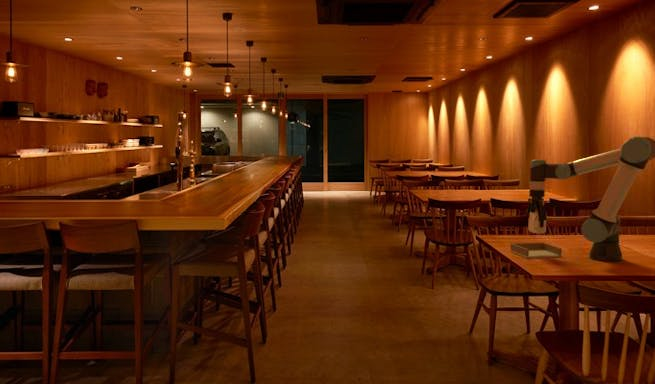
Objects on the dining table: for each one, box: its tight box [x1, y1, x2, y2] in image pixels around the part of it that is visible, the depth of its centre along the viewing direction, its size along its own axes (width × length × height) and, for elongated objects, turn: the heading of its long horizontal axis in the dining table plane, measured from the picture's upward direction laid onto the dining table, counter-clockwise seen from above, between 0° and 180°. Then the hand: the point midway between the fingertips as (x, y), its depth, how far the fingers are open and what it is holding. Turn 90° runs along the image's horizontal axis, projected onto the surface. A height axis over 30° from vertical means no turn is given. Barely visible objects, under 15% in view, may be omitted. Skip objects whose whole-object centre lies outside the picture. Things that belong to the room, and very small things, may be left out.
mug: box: [528, 211, 548, 234], centre depth 301 cm, size 12×8×10 cm
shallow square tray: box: [509, 241, 562, 259], centre depth 303 cm, size 18×19×4 cm
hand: (535, 231), depth 303 cm, fingers closed on mug, 9 cm apart
